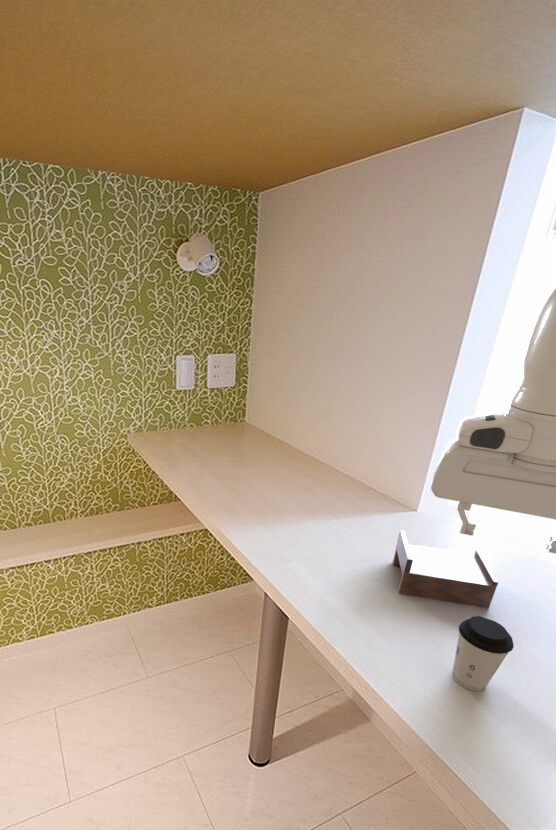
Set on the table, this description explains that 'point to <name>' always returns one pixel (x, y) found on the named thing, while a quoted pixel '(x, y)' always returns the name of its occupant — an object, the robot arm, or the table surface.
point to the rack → (444, 574)
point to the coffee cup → (480, 651)
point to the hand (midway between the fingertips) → (508, 541)
